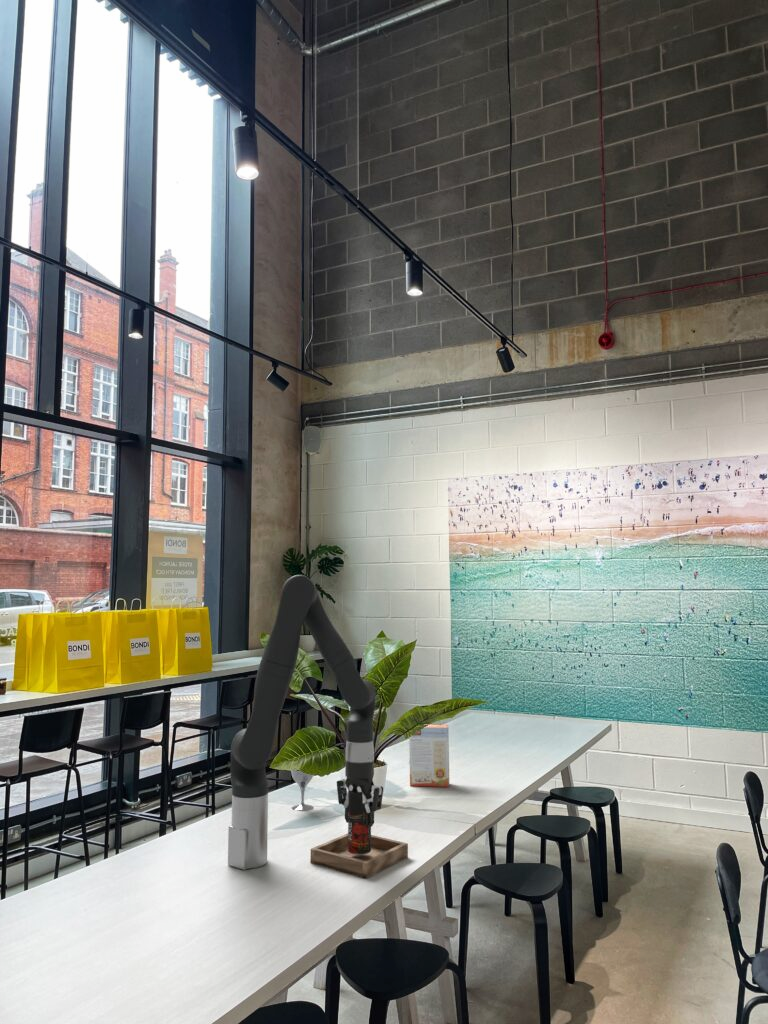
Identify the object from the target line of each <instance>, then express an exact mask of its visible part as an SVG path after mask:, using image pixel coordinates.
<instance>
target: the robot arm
mask: <svg viewBox="0 0 768 1024" xmlns="http://www.w3.org/2000/svg"><path fill="white" fill-rule="evenodd" d="M304 625H305V626H306V627H307V629H308V631H309V633H310V634H311V636H312V638H313V640H314V642H315V644H316V647H317V648H318V651H319V653H320V655H321V657H322V658H323V660H324V662H325V664H326V665H327V667H328V668H329V671H330V673H332V675H333V677H334V680H335V682H336V686H337V687H338V690H339V693H340V695H341V696H342V698H343V700H344V702H345V703H346V705H347V706H349V707H350V709H349V717H348V719H347V722H346V744H345V757H344V758H345V759H344V760H345V761H344V762H345V763H344V766H345V767H344V768H345V769H344V770H345V777H346V779H345V778H343V779H339V780H337V781H336V792H337V799H338V800H337V801H338V804H339V805H341V806H343V807H344V819H345V822H346V823H347V824H348V791H351V792H353V791H355V792H358V793H361V794H363V804H364V805H365V808H366V811H367V812H366V827H368V828H369V827H371V828H372V827H373V826H374V824H375V813H376V812H377V811H380V810H381V809H382V804H383V803H382V802H383V796H384V787H383V786H381V785H379V786H378V785H375V783H374V780H373V779H374V775H375V746H374V745H375V744H374V723H373V722H374V716H375V715H374V714H375V708H376V690H375V686H374V685H373V684H372V682H371V681H369V680H367V679H363V678H362V676H361V675H360V673H359V671H358V669H357V668H358V663H357V661H356V659H355V658H354V656H353V654H352V653H351V651H350V649H349V647H348V646H347V644H346V643H345V642H344V641H345V640H344V639H342V637H341V635H340V634H339V632H338V631H337V629H336V628H335V627H334V624H332V622H331V620H330V618H329V617H328V615H327V613H326V611H325V609H324V607H323V604H322V602H321V599H320V596H319V593H318V588H317V587H316V585H315V583H314V582H313V580H311V579H310V578H309V577H308V576H306V575H305V574H304V575H303V574H296V575H293V576H291V577H290V578H288V579H287V580H286V581H285V582H284V584H283V586H282V589H281V592H280V598H279V604H278V608H277V613H276V617H275V620H274V624H273V627H272V629H271V632H270V634H269V637H268V639H267V642H266V645H265V648H264V651H263V654H262V656H261V659H260V662H259V666H258V669H257V673H256V675H255V676H256V677H255V681H254V691H253V693H254V694H253V705H252V711H251V714H250V718H249V720H248V723H247V726H246V728H243V729H241V730H239V731H238V732H236V734H235V735H234V737H233V739H232V741H231V745H230V782H231V792H232V793H231V825H229V826H228V833H227V835H228V836H227V840H228V841H227V842H228V845H227V865H228V866H230V867H234V868H237V869H240V870H243V871H244V870H248V869H255V868H259V867H262V866H264V865H266V864H267V863H268V839H269V838H268V831H269V830H268V826H269V825H268V824H269V823H268V822H269V780H268V776H267V773H266V764H267V762H269V759H270V757H271V756H272V753H273V747H274V743H275V737H276V732H277V727H278V722H279V719H280V715H281V712H282V709H283V706H284V703H285V701H286V698H287V694H288V691H289V689H290V688H289V687H290V686H291V682H292V678H293V675H294V672H295V669H296V665H297V661H298V655H299V649H300V640H301V635H302V634H301V632H302V628H303V626H304ZM364 793H365V794H366V795H368V794H370V793H371V798H370V799H368V800H367V799H366V797H365V794H364ZM369 802H370V805H369Z"/></svg>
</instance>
